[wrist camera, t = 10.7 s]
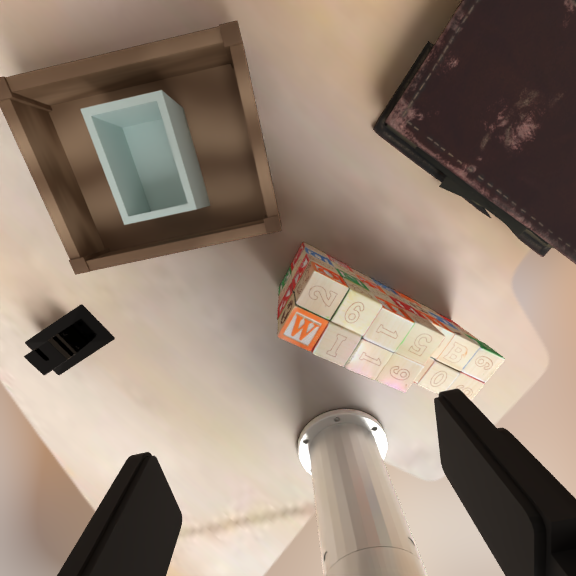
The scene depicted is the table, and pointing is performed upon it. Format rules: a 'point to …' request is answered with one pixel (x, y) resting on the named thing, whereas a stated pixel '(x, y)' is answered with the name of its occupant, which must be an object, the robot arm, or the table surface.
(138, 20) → the table surface
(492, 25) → the diary
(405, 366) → the stack of blocks
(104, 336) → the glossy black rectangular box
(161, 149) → the small crate
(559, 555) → the robot arm
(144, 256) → the big crate
